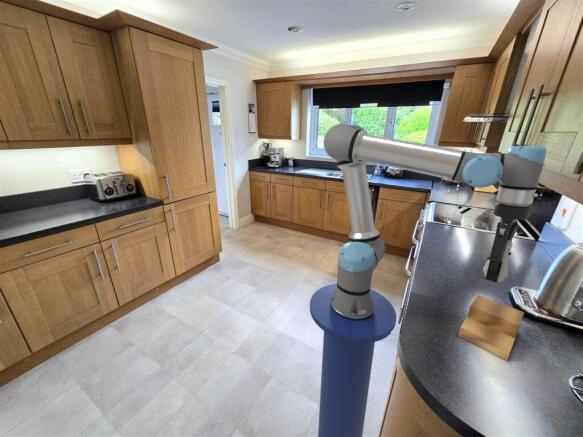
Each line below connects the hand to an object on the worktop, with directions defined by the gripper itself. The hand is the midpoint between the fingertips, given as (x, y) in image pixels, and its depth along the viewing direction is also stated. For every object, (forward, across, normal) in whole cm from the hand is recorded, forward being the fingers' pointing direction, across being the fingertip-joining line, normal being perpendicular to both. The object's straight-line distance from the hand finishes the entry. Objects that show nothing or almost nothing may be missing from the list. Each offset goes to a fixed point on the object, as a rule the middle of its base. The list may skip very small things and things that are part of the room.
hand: (493, 276), depth 74 cm
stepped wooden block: (+19, -1, -2) cm, 20 cm away
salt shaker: (+1, 0, 0) cm, 1 cm away
